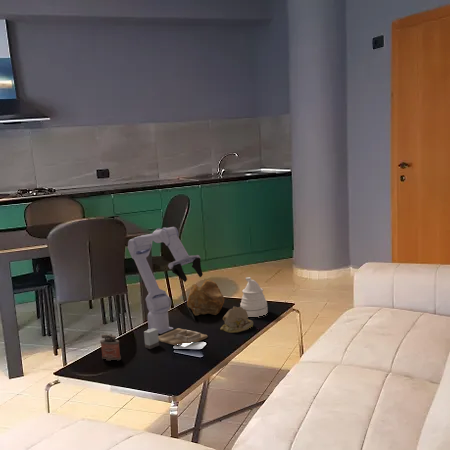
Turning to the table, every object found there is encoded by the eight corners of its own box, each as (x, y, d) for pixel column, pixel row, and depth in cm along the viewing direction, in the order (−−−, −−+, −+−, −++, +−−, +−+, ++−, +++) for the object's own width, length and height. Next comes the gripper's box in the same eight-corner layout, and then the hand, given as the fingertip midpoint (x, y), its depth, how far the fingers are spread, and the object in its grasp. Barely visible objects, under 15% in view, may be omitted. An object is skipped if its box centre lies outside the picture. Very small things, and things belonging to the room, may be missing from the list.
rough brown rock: (213, 322, 261) (213, 291, 258) (182, 317, 268) (182, 286, 265) (234, 309, 281) (234, 280, 279) (204, 304, 288) (205, 276, 286)
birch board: (155, 339, 240) (154, 333, 240) (178, 330, 251) (177, 323, 250) (184, 347, 228) (183, 340, 228) (207, 337, 239) (207, 330, 238)
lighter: (122, 357, 222) (120, 333, 221) (118, 361, 219) (115, 336, 218) (104, 356, 225) (102, 332, 223) (100, 359, 222) (97, 335, 220)
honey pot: (248, 319, 259) (245, 282, 256) (236, 312, 270) (234, 276, 268) (272, 314, 264) (270, 277, 261) (260, 308, 275) (257, 272, 273)
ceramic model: (228, 334, 241) (226, 312, 239) (217, 327, 251) (215, 306, 249) (256, 328, 246) (255, 306, 245) (244, 321, 257) (243, 300, 255)
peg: (145, 347, 232) (143, 331, 231) (154, 343, 235) (152, 328, 234) (150, 349, 230) (148, 332, 229) (159, 345, 233) (157, 329, 232)
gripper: (166, 250, 226) (181, 277, 220) (196, 242, 234) (211, 268, 228) (161, 259, 231) (176, 286, 225) (190, 251, 239) (205, 277, 233)
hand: (193, 278), depth 227 cm, fingers open, 7 cm apart
